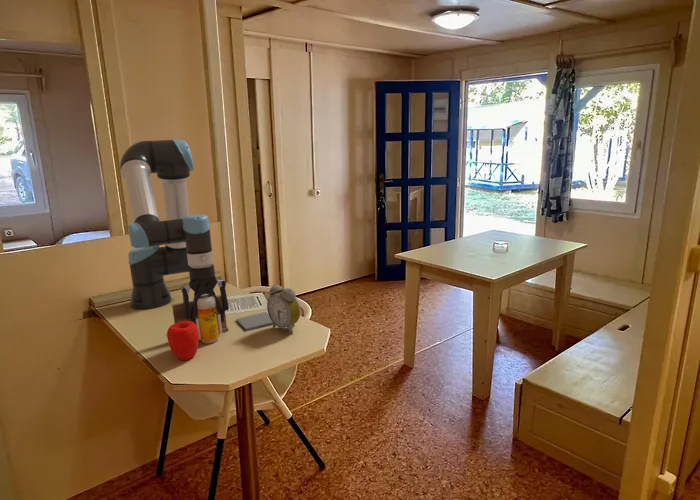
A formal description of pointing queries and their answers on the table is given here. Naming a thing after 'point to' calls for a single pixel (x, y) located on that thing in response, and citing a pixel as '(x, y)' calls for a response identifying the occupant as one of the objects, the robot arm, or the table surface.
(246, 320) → the coaster
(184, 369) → the table surface
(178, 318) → the screen
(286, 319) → the alarm clock
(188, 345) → the apple
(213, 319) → the yellow pill bottle
